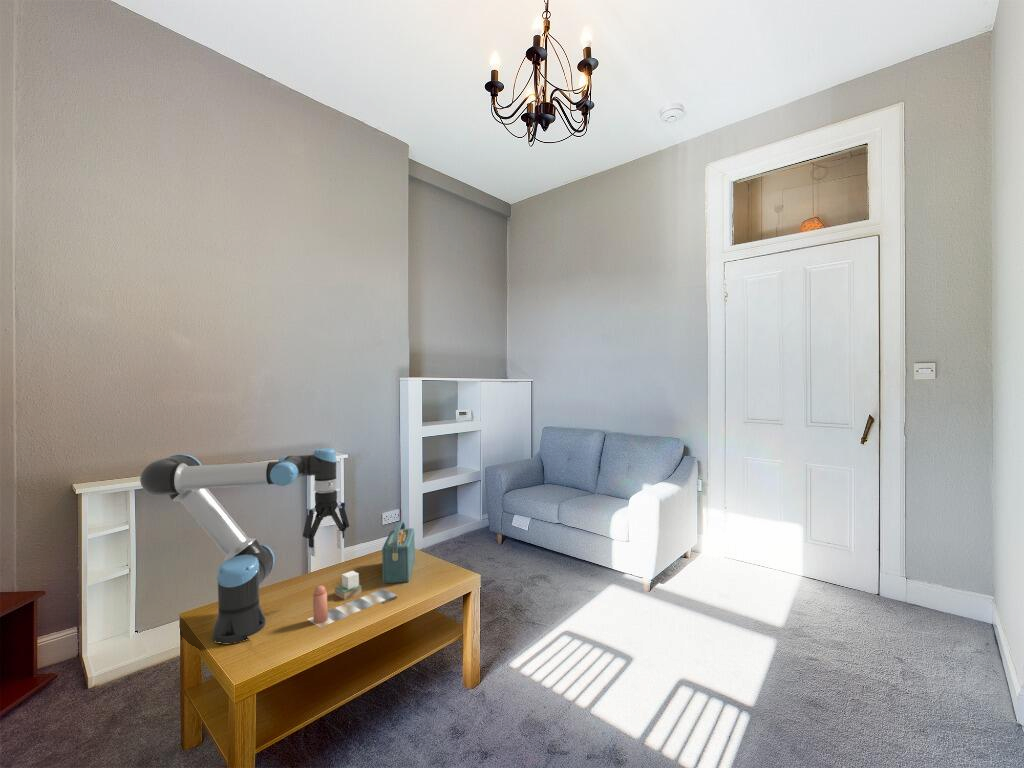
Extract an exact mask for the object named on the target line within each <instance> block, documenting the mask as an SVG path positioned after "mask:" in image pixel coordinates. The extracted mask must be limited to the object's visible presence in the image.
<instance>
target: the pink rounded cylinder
mask: <svg viewBox="0 0 1024 768" xmlns="http://www.w3.org/2000/svg"><path fill="white" fill-rule="evenodd" d="M326 589H327V588H326V587H325V586H324V585H318V586H316V587H315V589H314V591H313V594H312V604H313V605H312V606H313V607H312V608H313V611H312V613H313V616H314V623H317V624H319V623H323V622H325V621H327V620H328V592H327V591H326ZM314 623H313V624H314Z"/></svg>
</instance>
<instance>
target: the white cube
mask: <svg viewBox="0 0 1024 768" xmlns="http://www.w3.org/2000/svg"><path fill="white" fill-rule="evenodd" d="M359 575H360V573H359V572H357V571H355V570H350V571H348V572H345V573H342V574H341V585H342V586H343V587H345V588H347V589H351V588H353V587H356V586H358V585H360V576H359Z"/></svg>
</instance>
